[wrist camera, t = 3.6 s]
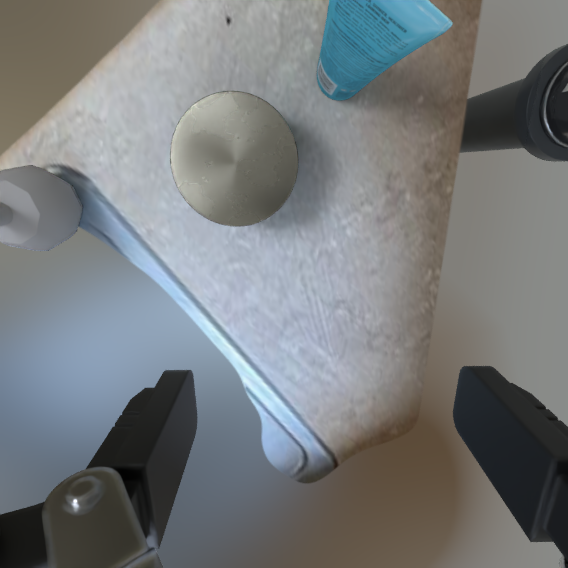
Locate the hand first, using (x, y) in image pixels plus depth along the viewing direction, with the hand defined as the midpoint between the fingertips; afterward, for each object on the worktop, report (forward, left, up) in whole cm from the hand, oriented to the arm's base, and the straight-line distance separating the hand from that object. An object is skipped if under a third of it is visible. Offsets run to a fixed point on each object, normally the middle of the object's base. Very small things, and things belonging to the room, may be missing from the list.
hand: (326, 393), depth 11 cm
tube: (-4, -16, -32) cm, 36 cm away
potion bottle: (+28, -2, -32) cm, 43 cm away
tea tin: (+6, -7, -32) cm, 33 cm away
